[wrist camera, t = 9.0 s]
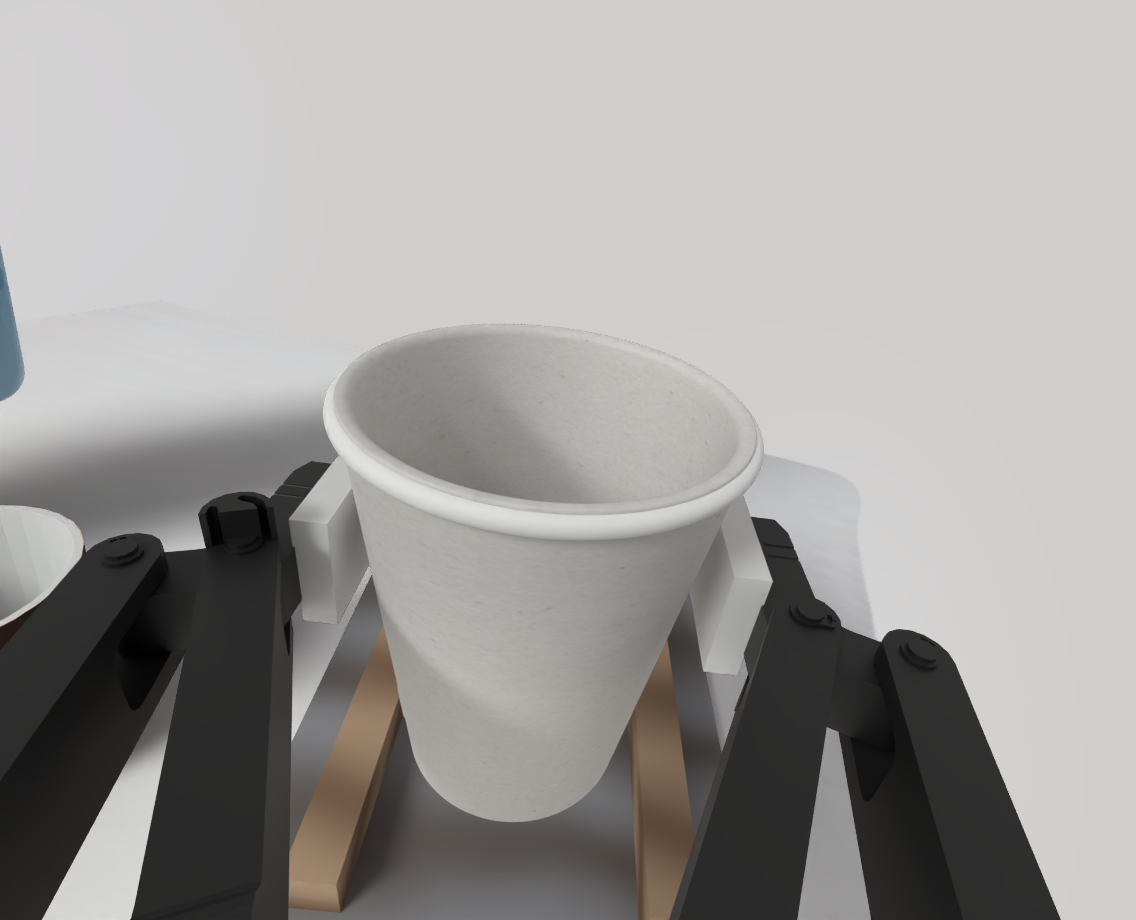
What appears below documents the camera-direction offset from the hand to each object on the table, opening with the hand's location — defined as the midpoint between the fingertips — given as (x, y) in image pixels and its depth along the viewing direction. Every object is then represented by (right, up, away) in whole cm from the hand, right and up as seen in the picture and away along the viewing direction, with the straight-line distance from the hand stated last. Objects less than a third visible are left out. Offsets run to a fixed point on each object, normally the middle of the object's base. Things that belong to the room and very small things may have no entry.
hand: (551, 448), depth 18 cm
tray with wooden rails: (-2, -13, +13) cm, 18 cm away
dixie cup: (-1, -8, -1) cm, 8 cm away
